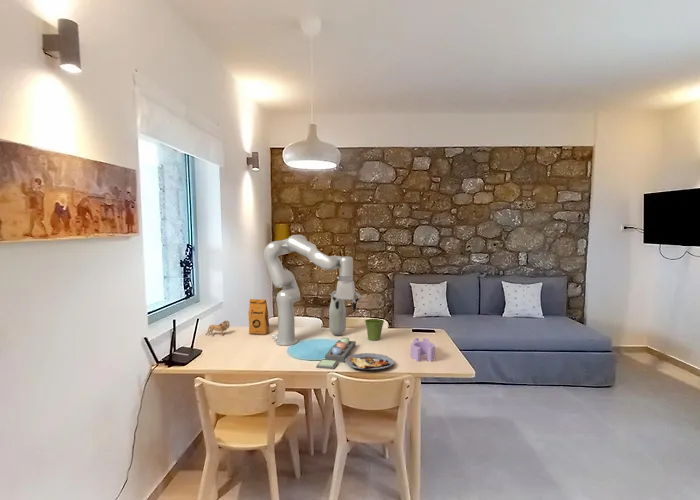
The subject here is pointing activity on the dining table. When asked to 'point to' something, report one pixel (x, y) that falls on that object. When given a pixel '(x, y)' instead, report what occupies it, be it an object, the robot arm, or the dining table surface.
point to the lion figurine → (218, 328)
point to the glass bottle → (337, 317)
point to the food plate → (369, 361)
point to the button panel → (344, 352)
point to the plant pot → (374, 328)
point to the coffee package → (258, 317)
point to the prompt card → (327, 364)
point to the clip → (422, 349)
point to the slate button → (337, 351)
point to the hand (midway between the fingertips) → (345, 309)
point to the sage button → (345, 340)
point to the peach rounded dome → (342, 345)
